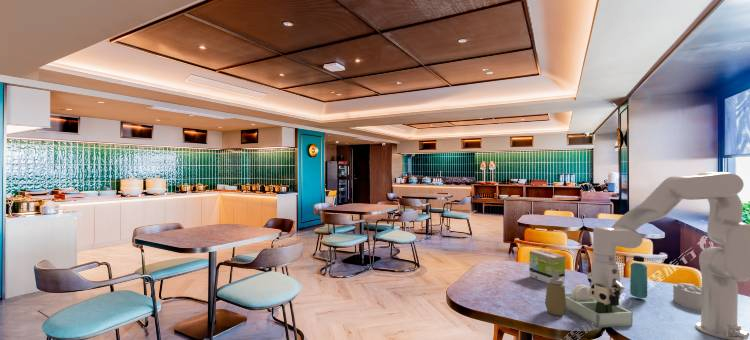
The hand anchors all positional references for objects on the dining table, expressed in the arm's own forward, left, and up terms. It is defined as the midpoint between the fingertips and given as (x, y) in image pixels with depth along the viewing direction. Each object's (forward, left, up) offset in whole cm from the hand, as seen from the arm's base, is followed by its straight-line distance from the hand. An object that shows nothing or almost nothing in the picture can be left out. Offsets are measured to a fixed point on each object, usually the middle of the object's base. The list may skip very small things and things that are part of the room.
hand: (604, 300), depth 137 cm
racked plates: (+11, 0, -7) cm, 13 cm away
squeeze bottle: (+8, +15, -8) cm, 19 cm away
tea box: (+48, -9, -8) cm, 50 cm away
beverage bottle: (+18, -35, -8) cm, 40 cm away
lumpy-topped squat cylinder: (+9, -53, -8) cm, 54 cm away
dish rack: (+5, 0, -8) cm, 9 cm away
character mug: (0, 0, -7) cm, 7 cm away
